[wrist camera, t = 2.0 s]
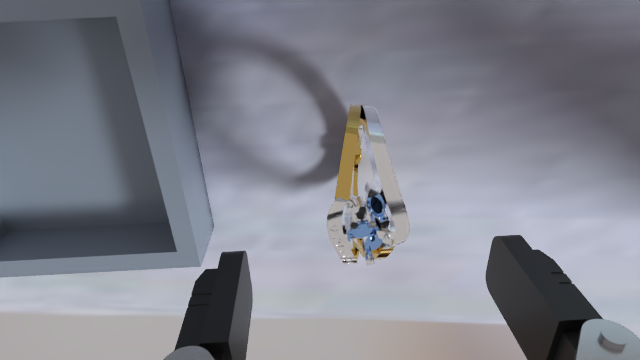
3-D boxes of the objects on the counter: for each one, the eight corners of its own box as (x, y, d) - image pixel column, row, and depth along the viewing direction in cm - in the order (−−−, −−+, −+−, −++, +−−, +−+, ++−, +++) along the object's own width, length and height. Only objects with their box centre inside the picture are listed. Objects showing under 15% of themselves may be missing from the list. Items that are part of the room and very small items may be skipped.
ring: (326, 82, 20) (337, 149, 13) (390, 86, 21) (434, 154, 14) (315, 203, 24) (319, 307, 17) (371, 206, 24) (398, 310, 17)
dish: (164, -20, 18) (135, -15, 15) (214, 227, 24) (200, 266, 21) (-114, -7, 18) (-200, 2, 15) (7, 238, 24) (-36, 279, 21)
